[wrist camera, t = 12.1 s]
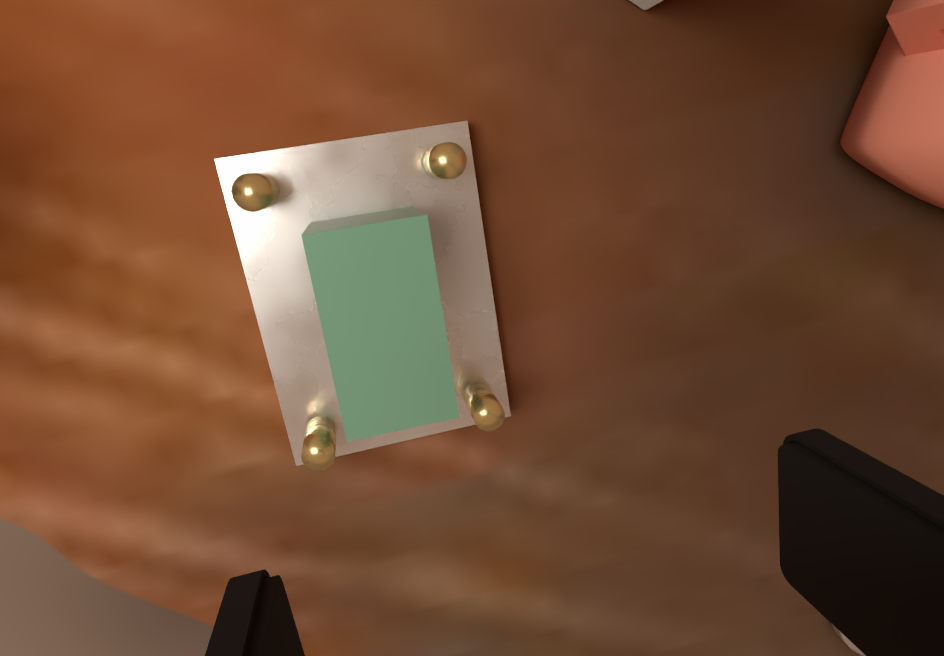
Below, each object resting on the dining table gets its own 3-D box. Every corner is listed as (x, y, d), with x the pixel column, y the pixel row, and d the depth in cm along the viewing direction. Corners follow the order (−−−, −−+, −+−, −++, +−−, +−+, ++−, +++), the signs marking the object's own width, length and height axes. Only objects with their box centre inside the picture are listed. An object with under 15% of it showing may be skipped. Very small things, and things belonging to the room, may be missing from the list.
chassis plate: (505, 408, 35) (526, 438, 31) (297, 455, 33) (291, 494, 29) (462, 122, 30) (480, 115, 26) (219, 159, 28) (198, 157, 24)
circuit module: (439, 373, 32) (459, 417, 26) (347, 392, 31) (347, 441, 26) (412, 206, 29) (427, 214, 24) (310, 222, 29) (301, 234, 23)
